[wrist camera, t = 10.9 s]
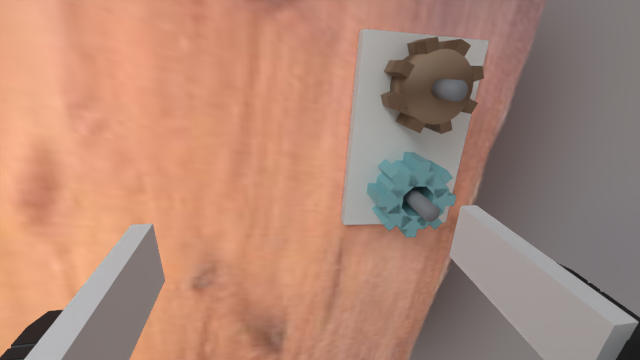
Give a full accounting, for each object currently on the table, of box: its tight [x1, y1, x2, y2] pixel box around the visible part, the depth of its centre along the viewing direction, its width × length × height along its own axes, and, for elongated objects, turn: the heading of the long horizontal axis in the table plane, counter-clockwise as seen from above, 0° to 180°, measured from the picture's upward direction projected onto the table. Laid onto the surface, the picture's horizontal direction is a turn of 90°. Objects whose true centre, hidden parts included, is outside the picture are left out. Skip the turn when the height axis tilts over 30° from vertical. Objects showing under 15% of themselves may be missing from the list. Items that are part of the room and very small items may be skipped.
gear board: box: [341, 29, 489, 225], centre depth 32 cm, size 22×14×8 cm, turn 176°
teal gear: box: [367, 152, 456, 237], centre depth 35 cm, size 9×9×4 cm
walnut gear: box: [381, 37, 484, 134], centre depth 31 cm, size 9×9×4 cm
